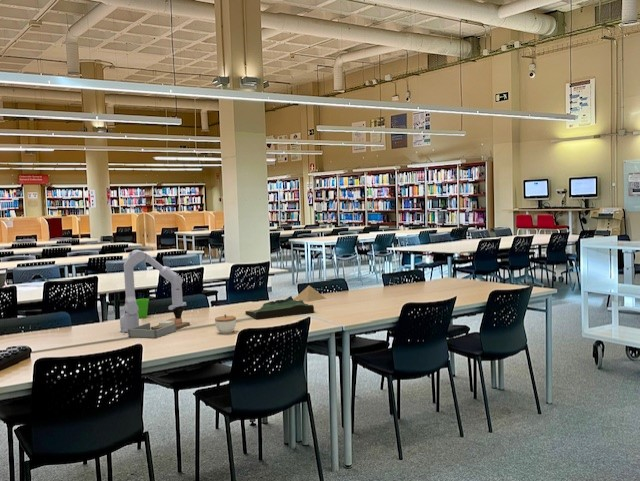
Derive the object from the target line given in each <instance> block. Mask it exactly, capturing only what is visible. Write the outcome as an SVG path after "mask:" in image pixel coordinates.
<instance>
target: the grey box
mask: <svg viewBox="0 0 640 481" xmlns="http://www.w3.org/2000/svg"><path fill="white" fill-rule="evenodd" d="M176 331H177V330H176V329H175V324H171V325H169V326H166V327H163V328H160V329H157V330H151V323H150V322H147V323H145V324H141V325H140V324H139V326H137V327H134V328H131V329H128V332H127V334H128V338H141V339H142V338H144V339H158V338H161V337H164V336H167V335H169V334H172V333H175V332H176Z"/></svg>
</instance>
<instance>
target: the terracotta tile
mask: <svg viewBox="0 0 640 481" xmlns="http://www.w3.org/2000/svg"><path fill="white" fill-rule="evenodd" d="M165 321H175V325H177V324H180V323H182V322H183V318H182V317H181V318H175V317H171V318H169V319H165Z"/></svg>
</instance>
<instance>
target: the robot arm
mask: <svg viewBox="0 0 640 481" xmlns="http://www.w3.org/2000/svg"><path fill="white" fill-rule="evenodd" d="M141 262H143V263H147V264H149V265H151V267H154V268H155V269H156V270H157V271H159V272H158V273H159V275H160V276H161V277H163V278H164V279H165V280H167V282H169V283H170V284H171V303H172V304H171V305H169V306H168V307H167V308H168V310H170V311H172V313H173V315H174V318H182V316H183V311H184V310H185V307H184V306H187V302H186V301H183V288H182V284H183V282H184V280H183V278H182V277H181V276H180V275H178V272H175V271H173V270H172V269H171V267H170V266H167V265H164V266H163V265H162V264H161V263H159V261H157V260H156V259H155V258H154V257H152V256H151V255H150V254H148V253H146V252H144V251H143V250H140V249H134V250H132V251H131V252H130V253H128V256H127V258H126V260H125V261H124V262H123V275H124V277H123V279H124V288H125V289H124V290H125V298H124V299H125V302H124V305H123V310H124V311H125V313H124V314H122V315H121V316H120V319H119V325H120V326H119V327H120V330H119V332H120V333H128V329H131V328H134V327H137V326H140V318H139V315H138V313H137V312H138V309H139V308H138V305H137V304H136V298H137V297H136V292H135V291H136V289H135V276H134V275H135V274H134V273H135V272H134V268H135V267H136V266H137V265H138V264H140V263H141Z"/></svg>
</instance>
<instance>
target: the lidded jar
mask: <svg viewBox="0 0 640 481" xmlns="http://www.w3.org/2000/svg"><path fill="white" fill-rule="evenodd" d="M214 321H215V322H214V323H215V328H216V329H217V332H219V333H220V334H222V335H223V334H224V335H225V334H231V333H233V331H234V330H235V329H236V324H237V323H236V321H237V317H236V316H234V315H227V314H226V313H225V314H224V315H223V316H222V315H221V316H216V317H215V318H214Z"/></svg>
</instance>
